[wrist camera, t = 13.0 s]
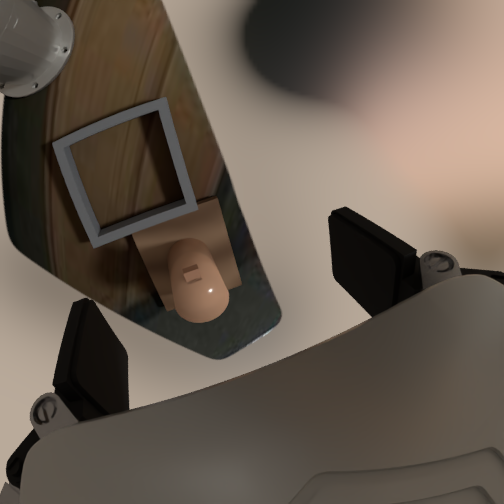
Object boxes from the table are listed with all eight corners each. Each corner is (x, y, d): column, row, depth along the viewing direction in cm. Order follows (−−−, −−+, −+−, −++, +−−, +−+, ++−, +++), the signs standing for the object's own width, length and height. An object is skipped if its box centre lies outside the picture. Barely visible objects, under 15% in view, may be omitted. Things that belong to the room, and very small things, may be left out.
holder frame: (58, 141, 28) (52, 143, 26) (165, 98, 31) (165, 96, 28) (96, 240, 36) (93, 248, 33) (195, 203, 38) (198, 209, 36)
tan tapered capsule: (201, 225, 38) (218, 261, 30) (218, 280, 43) (238, 323, 34) (158, 240, 37) (163, 280, 29) (179, 293, 42) (190, 340, 33)
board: (130, 225, 36) (129, 229, 35) (215, 195, 38) (217, 198, 37) (166, 306, 43) (167, 311, 42) (239, 280, 45) (242, 284, 44)
